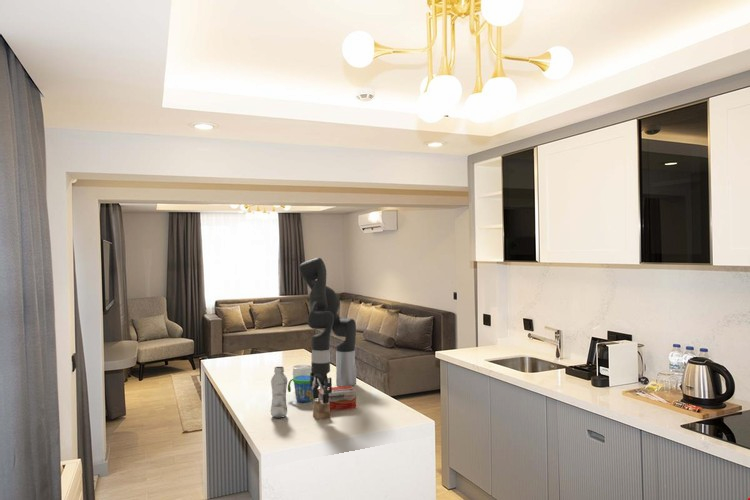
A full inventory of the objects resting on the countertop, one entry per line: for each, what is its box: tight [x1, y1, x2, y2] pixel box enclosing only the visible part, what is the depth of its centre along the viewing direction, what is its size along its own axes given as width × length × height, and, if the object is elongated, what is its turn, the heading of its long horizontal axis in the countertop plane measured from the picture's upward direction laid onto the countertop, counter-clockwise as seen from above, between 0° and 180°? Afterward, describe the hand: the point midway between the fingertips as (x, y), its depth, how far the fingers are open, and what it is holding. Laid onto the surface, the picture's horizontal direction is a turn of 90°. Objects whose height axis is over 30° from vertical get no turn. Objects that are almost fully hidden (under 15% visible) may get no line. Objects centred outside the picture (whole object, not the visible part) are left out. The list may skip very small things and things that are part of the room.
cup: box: [292, 364, 311, 388], centre depth 243 cm, size 9×9×12 cm
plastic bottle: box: [270, 366, 288, 419], centre depth 207 cm, size 6×7×20 cm
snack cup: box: [287, 375, 314, 403], centre depth 230 cm, size 16×10×10 cm
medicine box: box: [317, 386, 357, 412], centre depth 219 cm, size 15×8×8 cm, turn 109°
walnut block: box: [312, 400, 331, 421], centre depth 206 cm, size 5×5×6 cm
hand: (320, 400), depth 206 cm, fingers open, 8 cm apart
